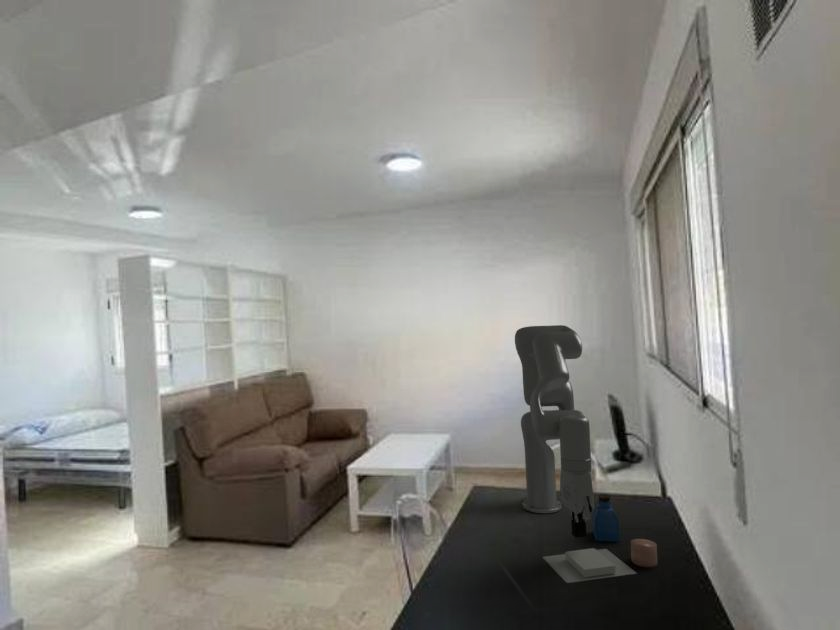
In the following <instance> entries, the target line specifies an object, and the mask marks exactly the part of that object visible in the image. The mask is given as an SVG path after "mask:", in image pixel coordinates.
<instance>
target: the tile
mask: <svg viewBox="0 0 840 630" xmlns="http://www.w3.org/2000/svg"><path fill="white" fill-rule="evenodd" d="M597 550H598V549H596V548H595V547H592V548H584V549H583V548H582V549H577V550H569V551H565V553H564V554H565V558H566V560H567V561H568V562H569V563H570V564H571V565H572V566H573V567H574V568H575V569H576V570H577V571H579V572H580V573H581V574H582V575H583V576H584V577H593V576H600V575H607V574H614V573H616V571H615V565H614V564H613V563H611V562H610V561H609V560H608V559H607V558H605V557H604V556H603V555H602V554H601V553H599V552H598V551H597Z"/></svg>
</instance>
